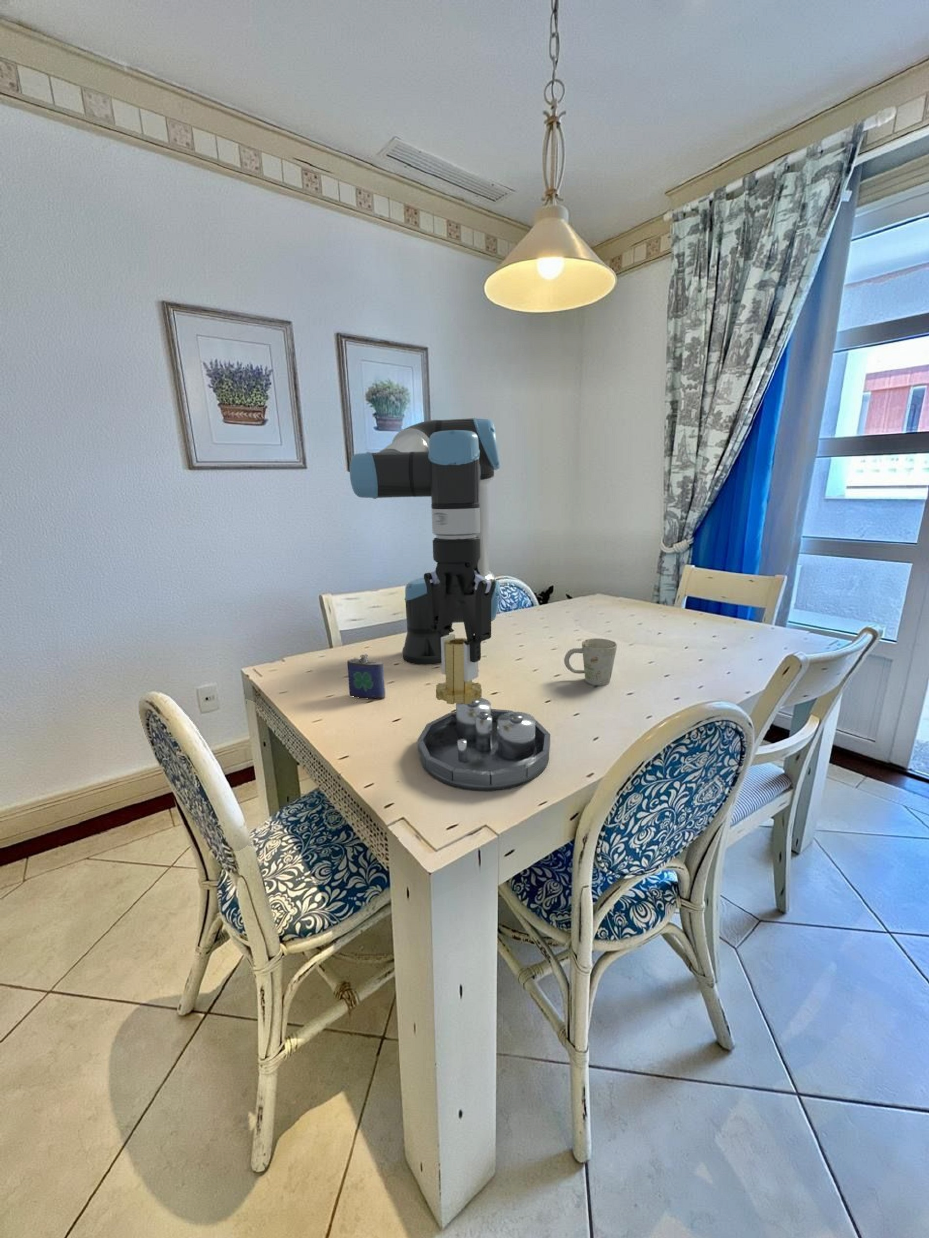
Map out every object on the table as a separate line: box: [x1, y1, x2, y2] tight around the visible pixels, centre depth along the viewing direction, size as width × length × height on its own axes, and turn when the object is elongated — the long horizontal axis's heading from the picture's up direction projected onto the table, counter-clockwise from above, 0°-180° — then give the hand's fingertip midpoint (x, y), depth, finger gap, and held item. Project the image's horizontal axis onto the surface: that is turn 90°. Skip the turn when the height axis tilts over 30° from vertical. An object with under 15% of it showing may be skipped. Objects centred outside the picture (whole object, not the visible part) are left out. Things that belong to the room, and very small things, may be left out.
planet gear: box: [435, 637, 483, 705], centre depth 83 cm, size 8×8×10 cm
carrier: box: [416, 697, 551, 792], centre depth 91 cm, size 24×24×8 cm
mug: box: [563, 637, 618, 686], centre depth 123 cm, size 8×13×10 cm, turn 78°
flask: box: [346, 653, 386, 700], centre depth 117 cm, size 9×3×11 cm, turn 74°
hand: (460, 675), depth 83 cm, fingers closed on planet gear, 4 cm apart
